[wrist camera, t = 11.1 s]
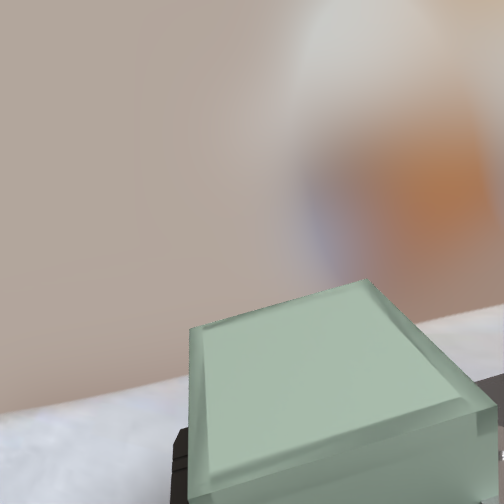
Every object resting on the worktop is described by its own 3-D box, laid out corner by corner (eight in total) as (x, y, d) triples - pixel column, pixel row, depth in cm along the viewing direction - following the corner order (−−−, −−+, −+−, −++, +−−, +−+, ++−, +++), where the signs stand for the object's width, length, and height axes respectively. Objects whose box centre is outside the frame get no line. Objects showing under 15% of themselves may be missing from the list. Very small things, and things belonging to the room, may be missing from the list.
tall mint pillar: (291, 745, 10) (187, 499, 7) (257, 526, 15) (189, 328, 12) (500, 674, 10) (497, 405, 7) (396, 483, 15) (367, 278, 12)
